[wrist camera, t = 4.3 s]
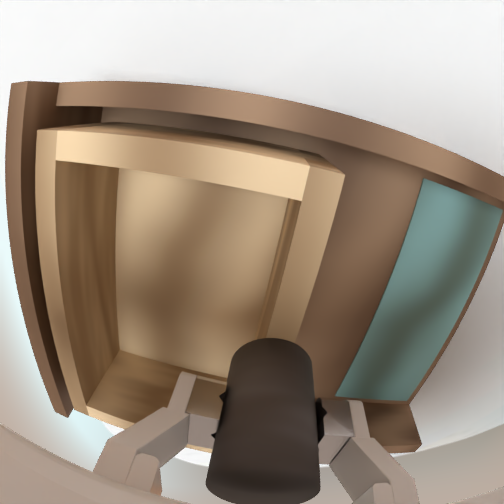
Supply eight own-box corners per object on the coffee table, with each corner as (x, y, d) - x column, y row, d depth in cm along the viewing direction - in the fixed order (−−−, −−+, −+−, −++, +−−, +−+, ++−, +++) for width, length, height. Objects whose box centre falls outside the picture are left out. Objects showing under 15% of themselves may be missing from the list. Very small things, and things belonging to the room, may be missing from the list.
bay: (504, 184, 14) (583, 221, 8) (400, 403, 21) (420, 473, 15) (100, 88, 14) (11, 83, 8) (98, 346, 21) (55, 411, 15)
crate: (340, 159, 14) (473, 256, 4) (272, 385, 19) (261, 544, 9) (116, 121, 14) (-81, 157, 4) (113, 347, 19) (37, 475, 9)
